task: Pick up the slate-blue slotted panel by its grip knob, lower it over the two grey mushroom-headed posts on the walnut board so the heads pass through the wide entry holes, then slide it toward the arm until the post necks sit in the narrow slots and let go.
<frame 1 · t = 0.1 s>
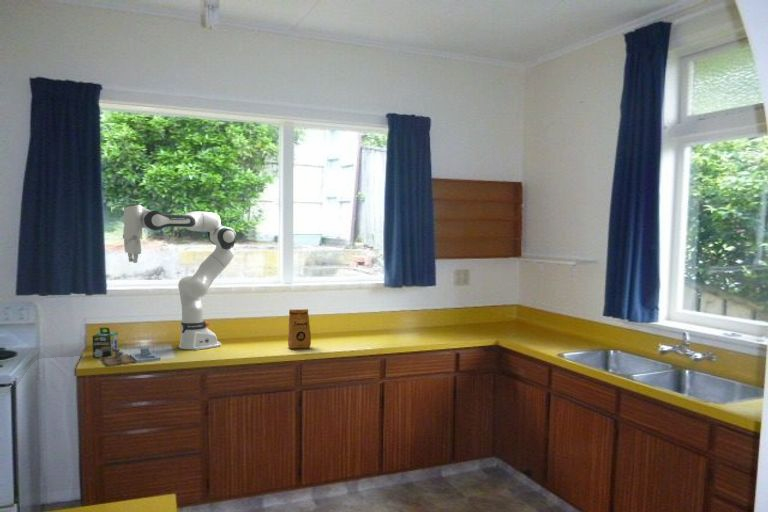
hand: (132, 262, 282), 48 cm above the worktop, tool pointing down, fingers open, 8 cm apart
panel: (144, 358, 275), on the worktop
coffee package: (299, 348, 306), on the worktop
board: (118, 361, 268), on the worktop
chalk box: (105, 356, 279), on the worktop
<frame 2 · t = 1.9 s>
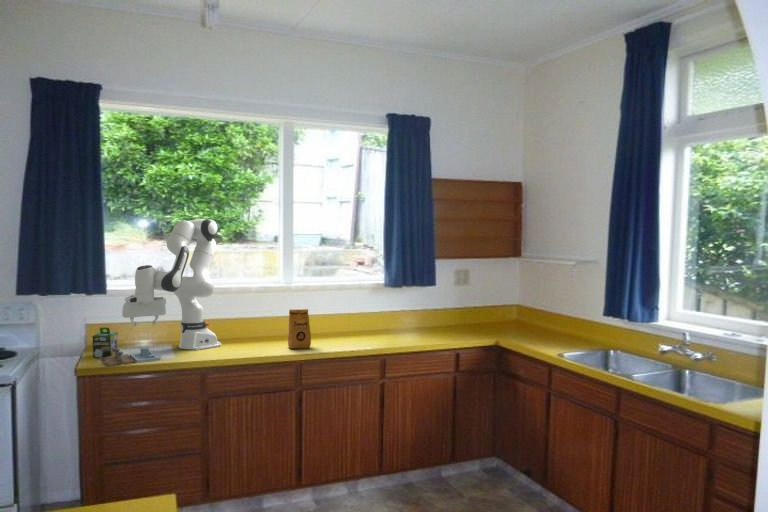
hand: (144, 325, 274), 17 cm above the worktop, tool pointing down, fingers open, 8 cm apart
nothing on the worktop moved.
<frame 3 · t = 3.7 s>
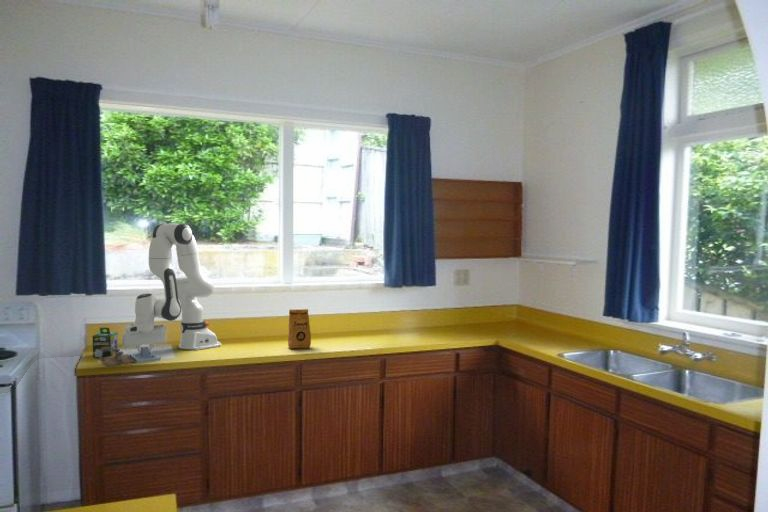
hand: (144, 353, 275), 3 cm above the worktop, tool pointing down, fingers closed on panel, 3 cm apart
panel: (144, 358, 275), on the worktop, touching gripper
everything else where it was.
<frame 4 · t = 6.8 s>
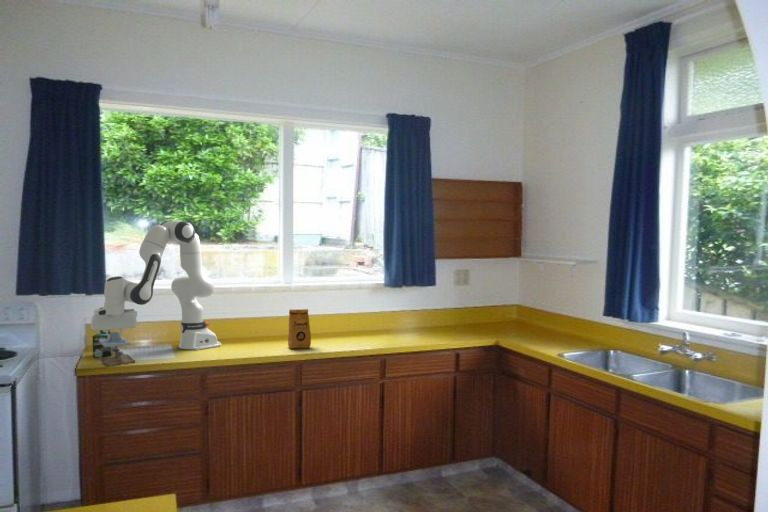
hand: (114, 338, 266), 12 cm above the worktop, tool pointing down, fingers closed on panel, 3 cm apart
panel: (114, 343, 266), point 9 cm above the worktop, touching gripper
everything else where it was.
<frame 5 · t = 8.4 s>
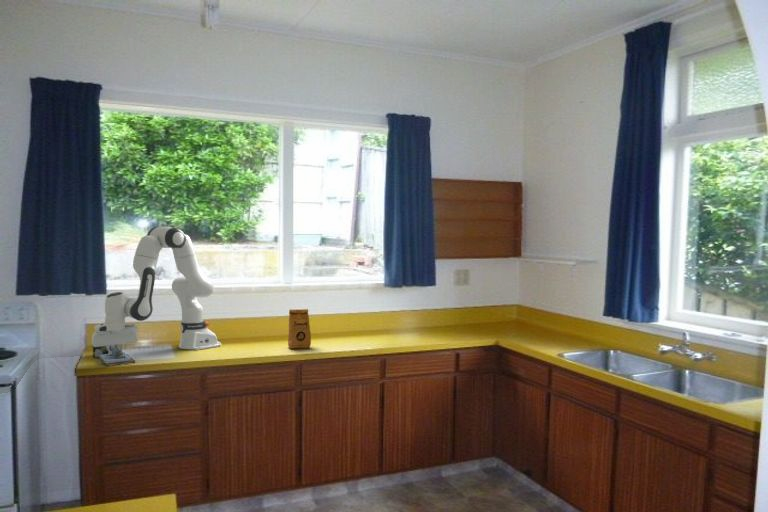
hand: (115, 353, 267), 4 cm above the worktop, tool pointing down, fingers closed on panel, 3 cm apart
panel: (115, 358, 267), point 1 cm above the worktop, touching gripper
everything else where it was.
when the fingers open (4 cm above the worktop, at t = 9.6 s): panel stays where it is, resting on board.
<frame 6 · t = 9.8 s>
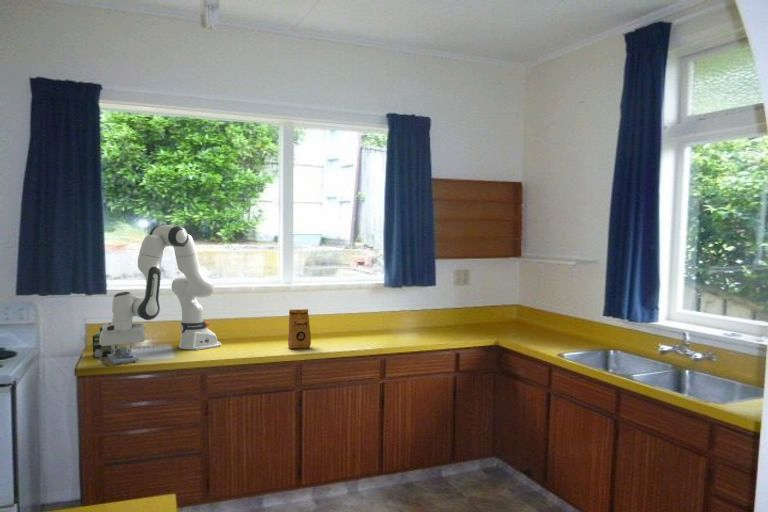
hand: (122, 352, 269), 4 cm above the worktop, tool pointing down, fingers open, 5 cm apart
panel: (122, 358, 269), point 1 cm above the worktop, touching board
everything else where it was.
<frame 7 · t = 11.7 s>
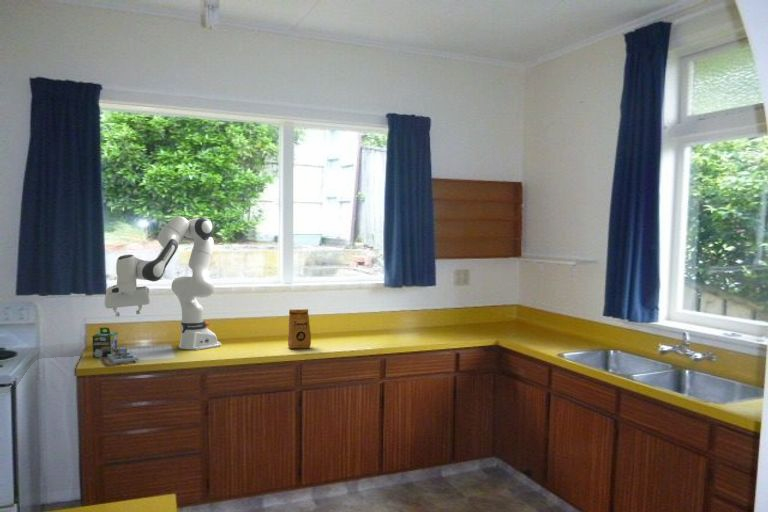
hand: (127, 315, 271), 22 cm above the worktop, tool pointing down, fingers open, 8 cm apart
nothing on the worktop moved.
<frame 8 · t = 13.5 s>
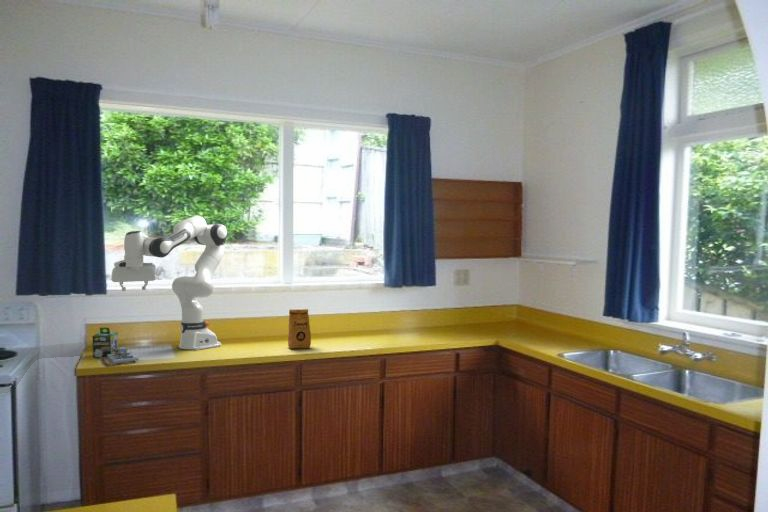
hand: (133, 290, 275), 34 cm above the worktop, tool pointing down, fingers open, 8 cm apart
nothing on the worktop moved.
at the end: panel 0.4 cm from the target spot on the board, point 1.2 cm above the board's base; panel tilted 0°; the gripper is holding nothing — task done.
